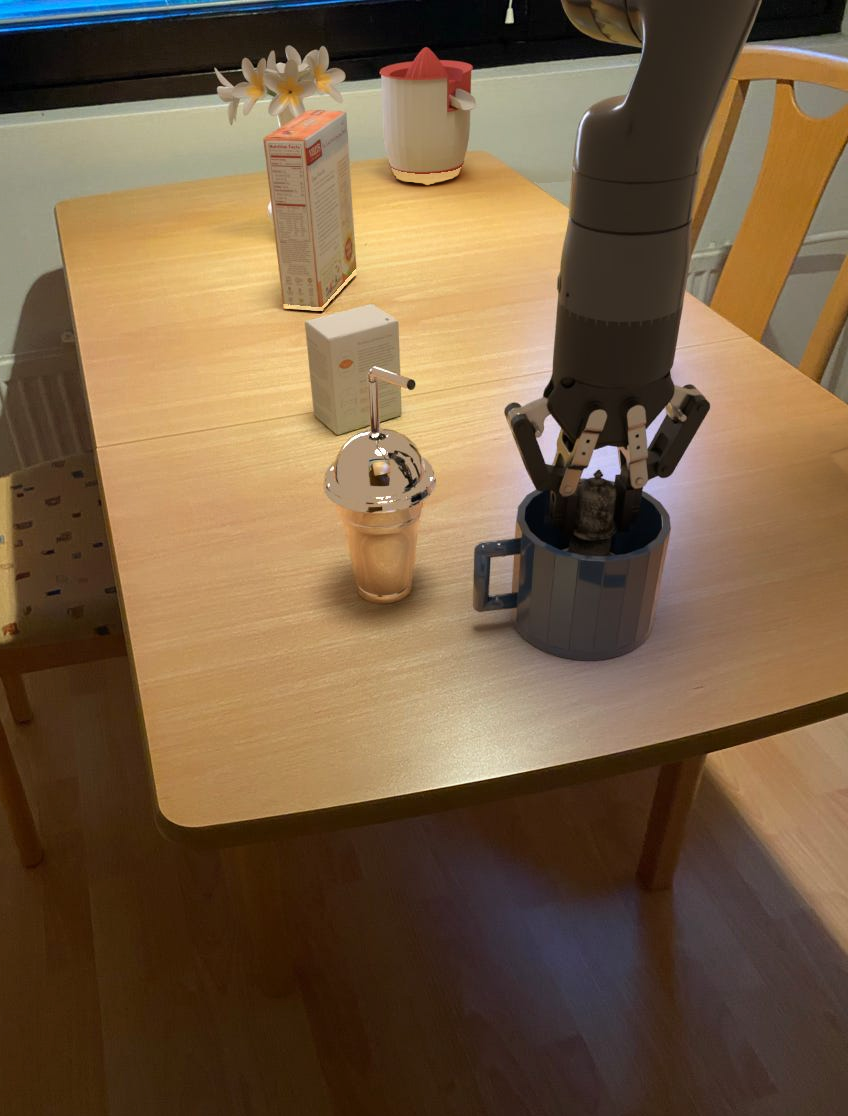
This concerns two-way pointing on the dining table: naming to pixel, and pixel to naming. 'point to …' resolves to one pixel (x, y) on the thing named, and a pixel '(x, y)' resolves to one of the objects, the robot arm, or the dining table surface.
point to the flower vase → (282, 86)
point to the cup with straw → (380, 500)
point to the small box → (352, 366)
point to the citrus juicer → (426, 113)
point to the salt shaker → (594, 517)
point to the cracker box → (311, 205)
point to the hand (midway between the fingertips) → (592, 528)
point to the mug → (578, 583)
